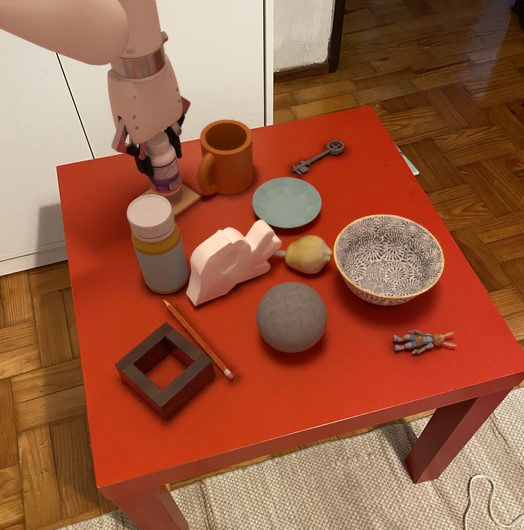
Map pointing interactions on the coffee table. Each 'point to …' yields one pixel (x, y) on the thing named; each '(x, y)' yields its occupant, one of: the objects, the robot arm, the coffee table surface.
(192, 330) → the pencil
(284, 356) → the coffee table surface
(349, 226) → the bowl
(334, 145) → the key
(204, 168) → the mug
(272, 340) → the decorative ball
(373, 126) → the coffee table surface
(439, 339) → the figurine
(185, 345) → the holder
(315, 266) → the fruit
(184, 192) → the coaster
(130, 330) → the coffee table surface
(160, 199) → the bottle
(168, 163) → the pill bottle
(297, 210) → the saucer
